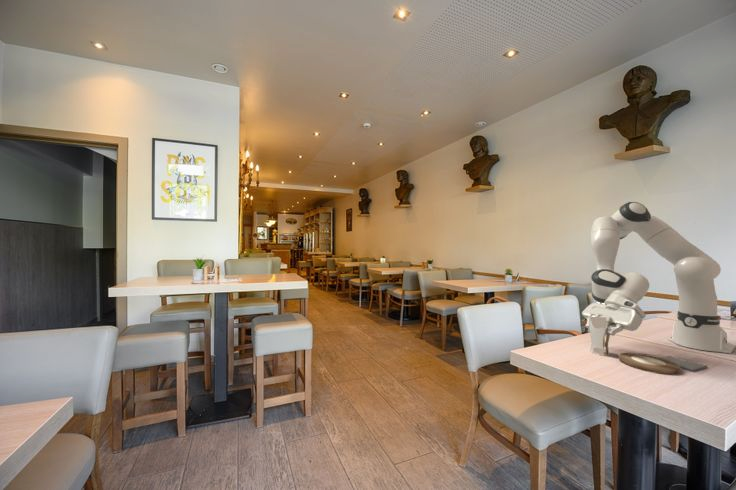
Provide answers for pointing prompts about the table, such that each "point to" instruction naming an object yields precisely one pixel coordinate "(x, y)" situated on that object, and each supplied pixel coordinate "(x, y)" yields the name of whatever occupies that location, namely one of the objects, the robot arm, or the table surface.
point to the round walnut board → (649, 363)
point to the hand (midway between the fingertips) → (598, 330)
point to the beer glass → (599, 334)
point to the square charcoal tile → (686, 364)
